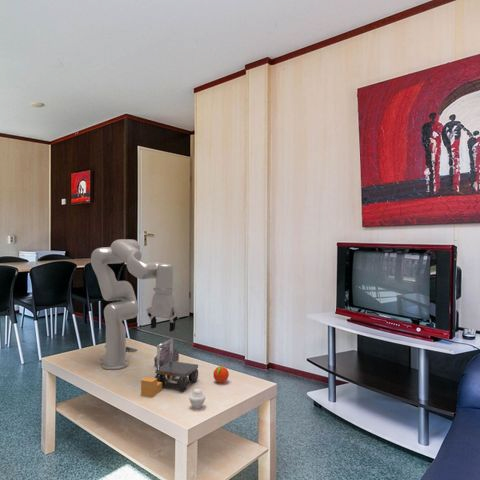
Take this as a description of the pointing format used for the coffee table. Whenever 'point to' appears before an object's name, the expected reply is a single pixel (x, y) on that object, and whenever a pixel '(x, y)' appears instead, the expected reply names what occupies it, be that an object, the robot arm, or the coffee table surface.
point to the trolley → (175, 370)
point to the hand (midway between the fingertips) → (162, 329)
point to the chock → (150, 387)
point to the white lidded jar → (197, 398)
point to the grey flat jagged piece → (129, 349)
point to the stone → (166, 355)
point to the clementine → (221, 374)
